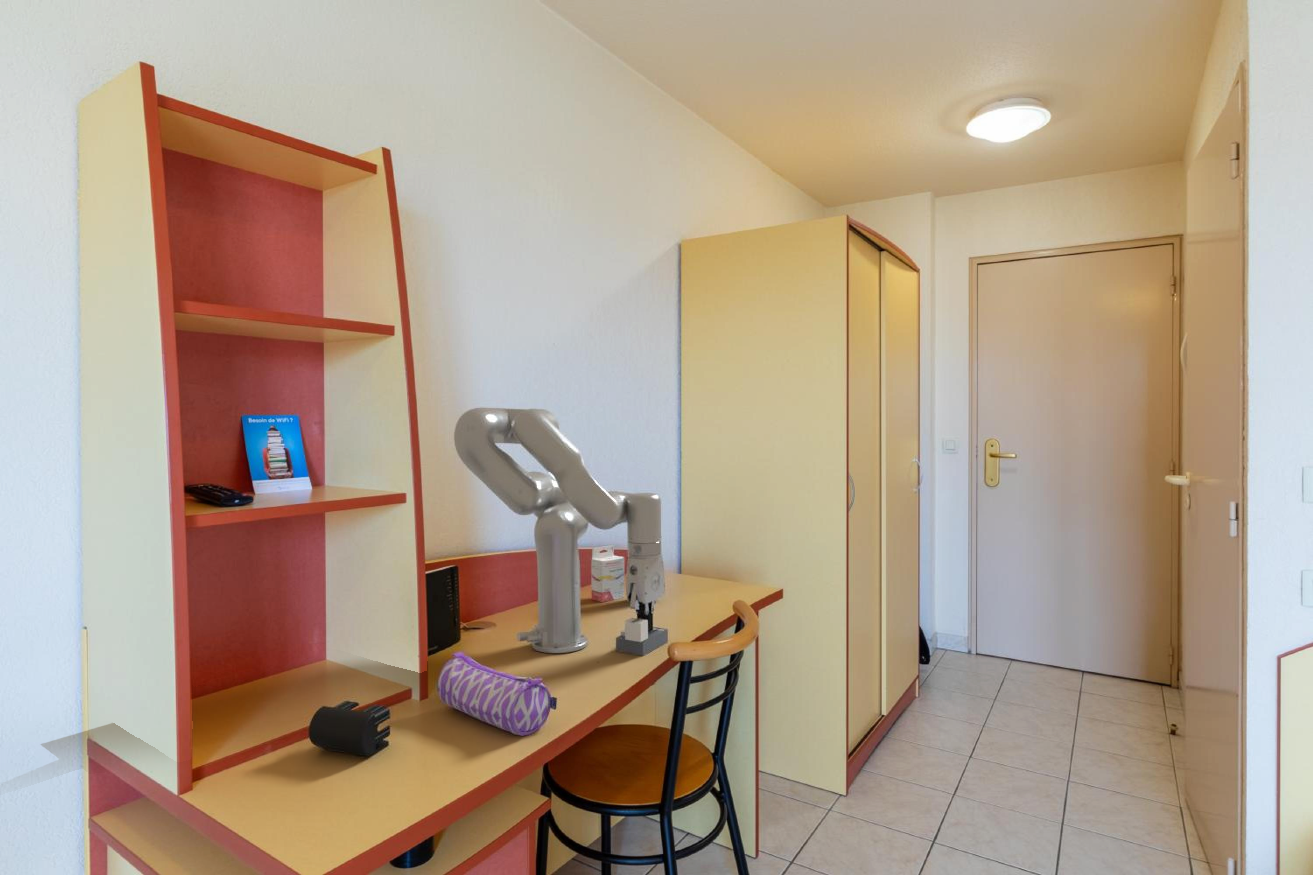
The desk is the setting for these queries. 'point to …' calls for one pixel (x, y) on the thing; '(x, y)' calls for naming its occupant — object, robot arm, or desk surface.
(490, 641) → the desk surface
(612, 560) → the ink cartridge box
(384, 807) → the desk surface
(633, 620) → the block
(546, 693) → the pencil case
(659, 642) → the console
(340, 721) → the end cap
